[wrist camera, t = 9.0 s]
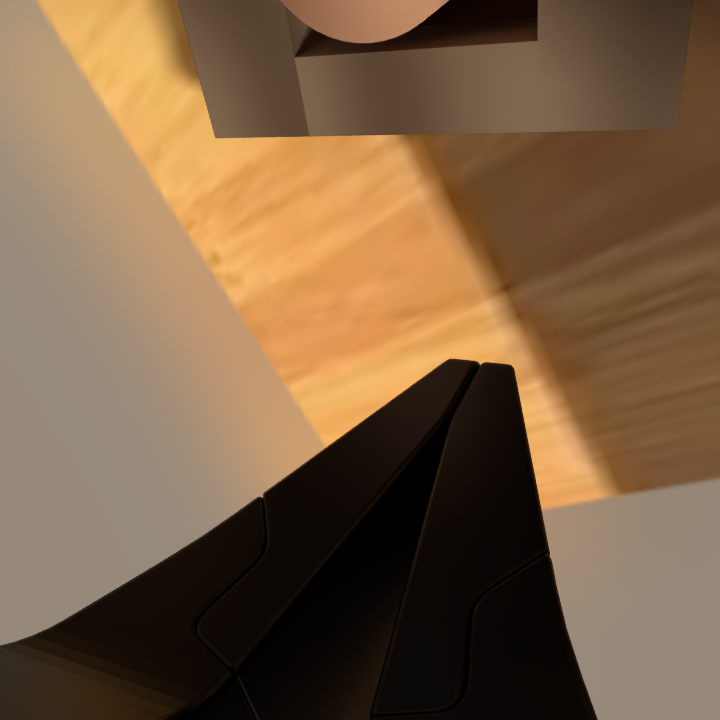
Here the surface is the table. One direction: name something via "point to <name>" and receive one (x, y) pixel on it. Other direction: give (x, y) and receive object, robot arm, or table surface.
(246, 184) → the table surface
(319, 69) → the wooden compartment tray
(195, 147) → the table surface
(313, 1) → the button rust
